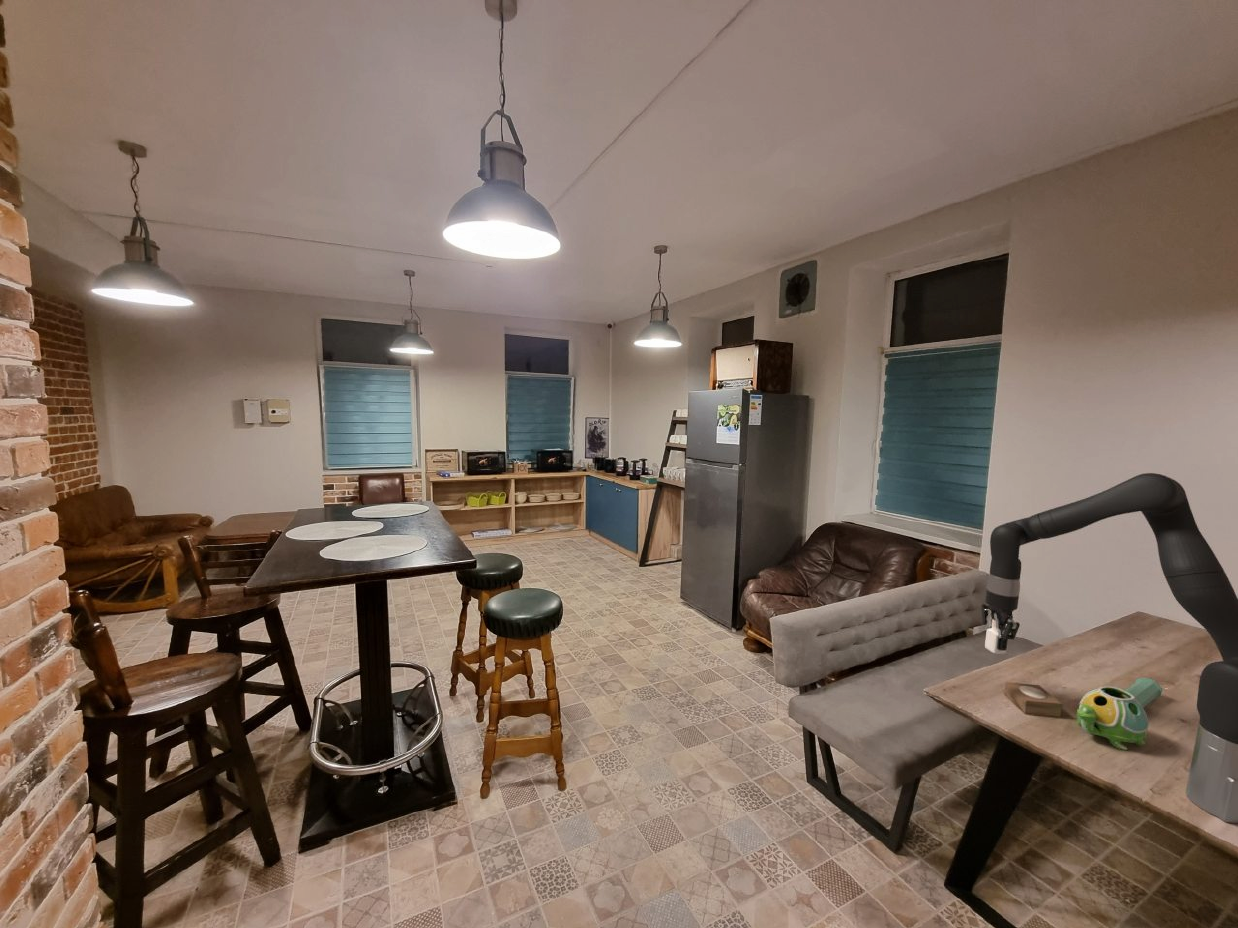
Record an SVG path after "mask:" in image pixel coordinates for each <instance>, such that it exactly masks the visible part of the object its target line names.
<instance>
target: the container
mask: <svg viewBox="0 0 1238 928" xmlns="http://www.w3.org/2000/svg"><path fill="white" fill-rule="evenodd" d="M1124 691H1126V692H1128V693H1130V694H1132V695H1133V696H1134V697H1135V699H1136V700H1137V701H1138V702H1139V703H1140V705H1141V706H1142V708H1143V709H1145V707H1147V706H1148V704H1150V703H1151V702H1152V701H1154V699H1155V698H1160V697H1161V696H1162V692H1163V687H1161V685H1160V684H1159V683H1158V682H1157V681H1156V680H1154V679H1151V678H1148V677H1146V676H1143V677H1140V678H1137V679H1135V681H1134V683H1133V684H1132V685H1131V686H1129V687H1128V688H1127V689H1125V690H1124ZM1122 695H1123V694H1122ZM1123 696H1124V697H1125V698H1126V699H1129V697H1127V696H1126V695H1123Z"/></svg>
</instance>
